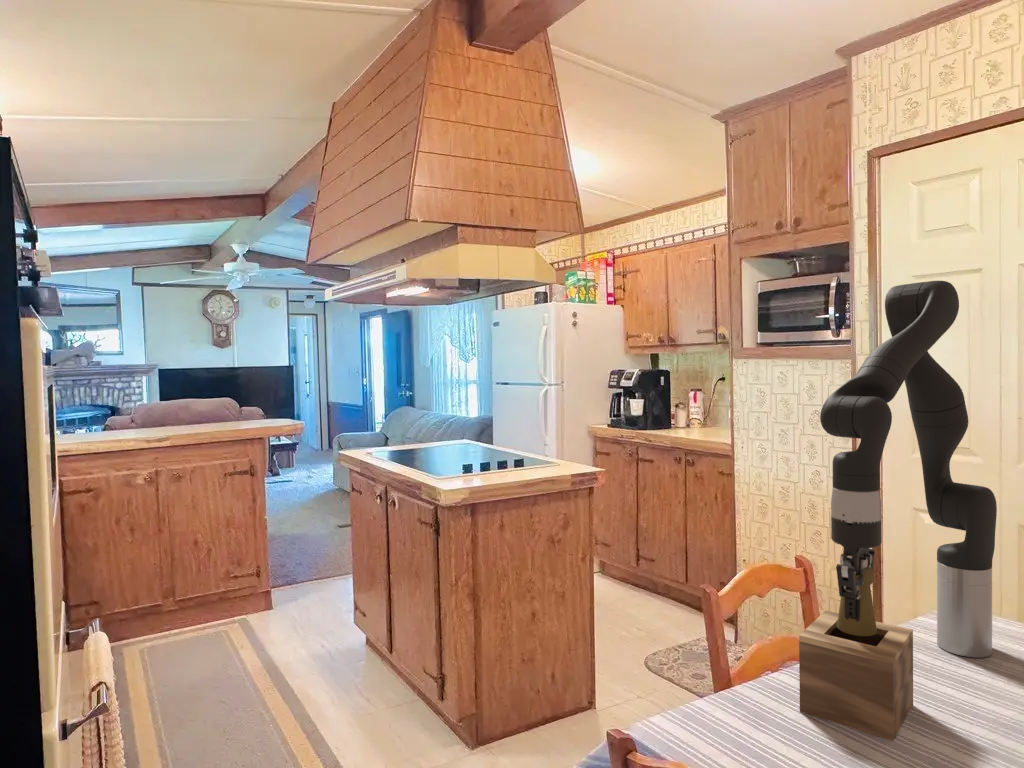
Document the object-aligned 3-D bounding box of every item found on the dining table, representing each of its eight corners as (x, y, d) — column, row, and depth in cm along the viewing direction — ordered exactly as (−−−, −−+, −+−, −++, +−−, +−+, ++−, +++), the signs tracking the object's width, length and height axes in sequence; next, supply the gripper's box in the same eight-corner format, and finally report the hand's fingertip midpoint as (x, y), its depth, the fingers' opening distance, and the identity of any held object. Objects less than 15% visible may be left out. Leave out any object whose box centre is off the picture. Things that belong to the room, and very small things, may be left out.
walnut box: (826, 680, 124) (825, 610, 123) (913, 705, 115) (912, 629, 114) (799, 711, 113) (799, 635, 113) (893, 741, 104) (892, 658, 104)
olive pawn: (882, 637, 110) (882, 570, 110) (842, 635, 111) (841, 569, 111) (870, 622, 116) (870, 559, 116) (832, 621, 117) (832, 558, 117)
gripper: (844, 504, 121) (844, 599, 121) (818, 520, 110) (819, 623, 111) (891, 510, 116) (891, 608, 116) (869, 526, 105) (869, 635, 106)
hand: (856, 615), depth 114 cm, fingers closed on olive pawn, 4 cm apart
